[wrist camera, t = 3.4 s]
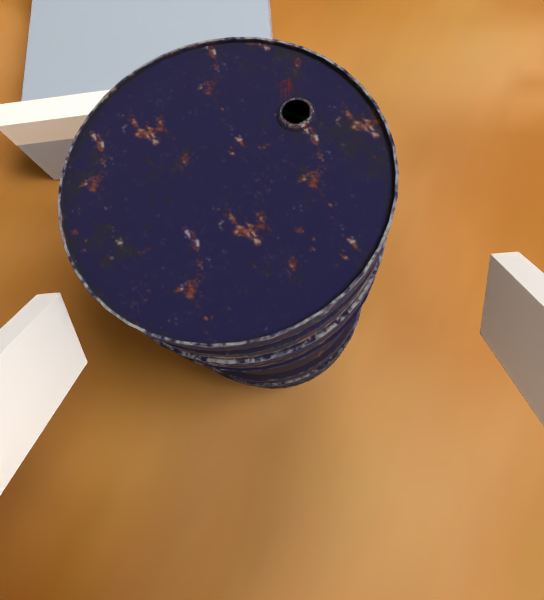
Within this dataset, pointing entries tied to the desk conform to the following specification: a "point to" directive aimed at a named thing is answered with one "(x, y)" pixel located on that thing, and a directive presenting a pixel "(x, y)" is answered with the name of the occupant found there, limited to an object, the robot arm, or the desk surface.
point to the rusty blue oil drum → (233, 205)
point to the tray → (105, 59)
